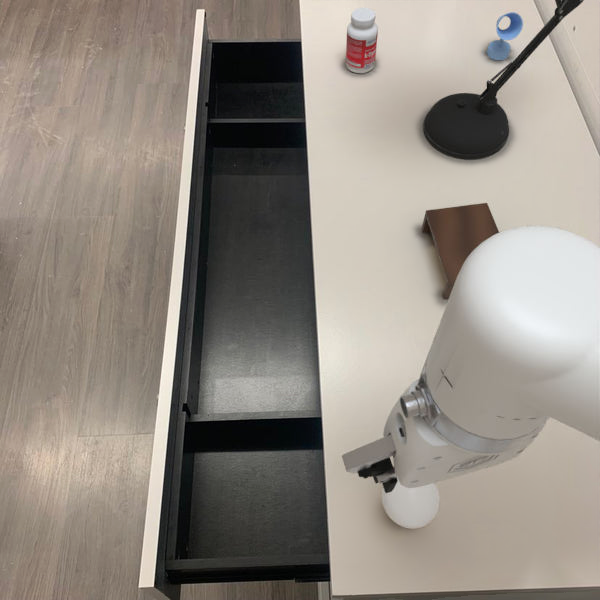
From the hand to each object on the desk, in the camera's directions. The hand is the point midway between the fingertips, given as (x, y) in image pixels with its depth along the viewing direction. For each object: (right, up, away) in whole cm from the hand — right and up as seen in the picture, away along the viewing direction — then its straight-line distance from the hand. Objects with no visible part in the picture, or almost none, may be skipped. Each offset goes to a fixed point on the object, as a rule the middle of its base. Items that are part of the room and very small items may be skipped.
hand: (434, 460), depth 47 cm
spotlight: (+30, +66, +64) cm, 97 cm away
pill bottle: (+1, +64, +65) cm, 91 cm away
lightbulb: (+1, -12, +19) cm, 22 cm away
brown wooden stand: (+14, +21, +38) cm, 45 cm away
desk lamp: (+18, +46, +53) cm, 73 cm away
